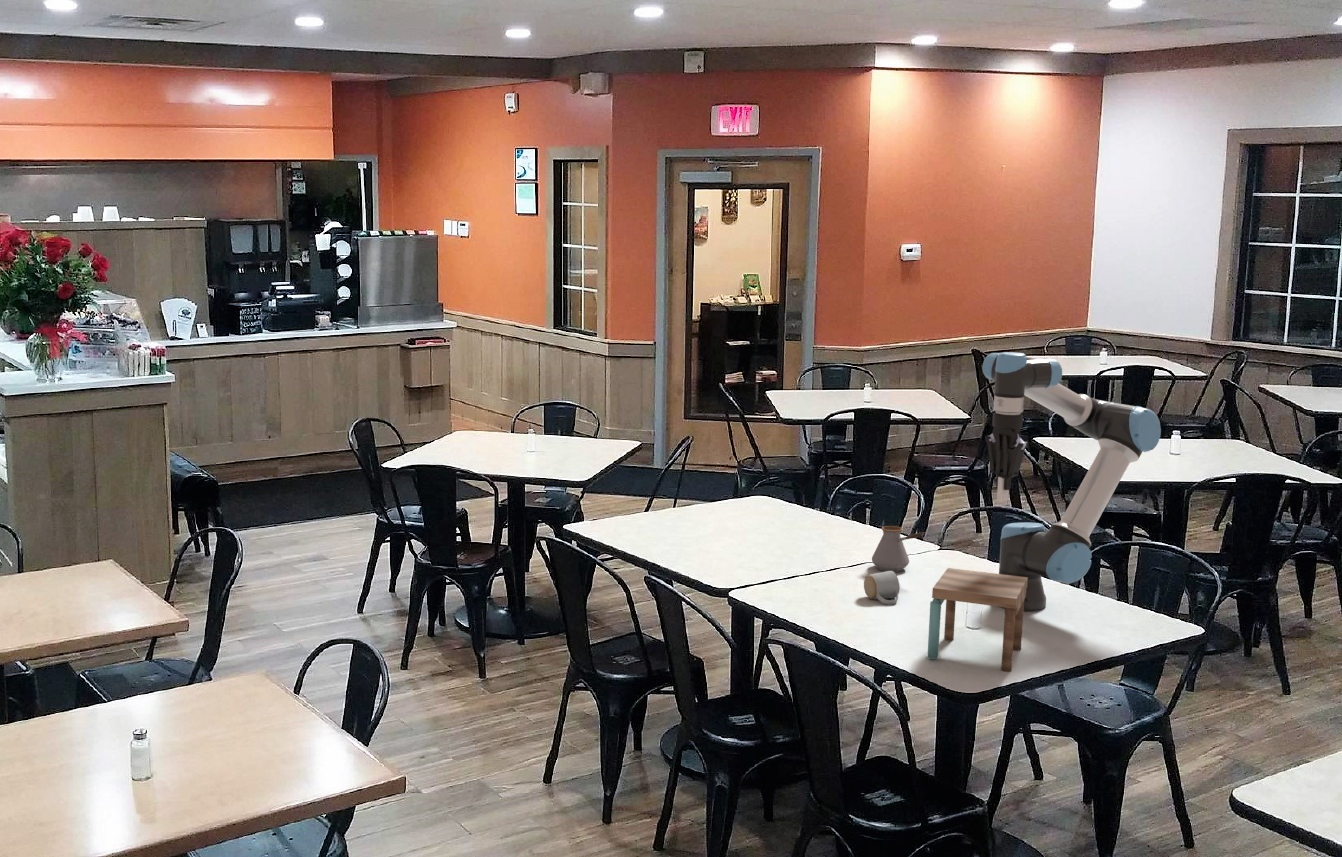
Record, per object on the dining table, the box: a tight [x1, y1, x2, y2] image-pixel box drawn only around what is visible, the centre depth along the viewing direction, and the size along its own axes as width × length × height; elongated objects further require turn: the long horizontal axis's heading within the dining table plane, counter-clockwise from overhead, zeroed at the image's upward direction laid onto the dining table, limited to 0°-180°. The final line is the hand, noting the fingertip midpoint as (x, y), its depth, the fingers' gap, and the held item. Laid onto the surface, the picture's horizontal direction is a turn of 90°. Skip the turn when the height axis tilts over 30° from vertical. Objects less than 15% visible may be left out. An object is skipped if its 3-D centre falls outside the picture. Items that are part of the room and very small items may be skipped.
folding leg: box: [927, 598, 945, 660], centre depth 325 cm, size 16×3×15 cm, turn 158°
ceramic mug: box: [863, 571, 901, 606], centre depth 368 cm, size 11×8×8 cm
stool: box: [931, 567, 1028, 673], centre depth 323 cm, size 20×20×18 cm
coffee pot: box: [871, 525, 929, 573], centre depth 395 cm, size 21×12×15 cm, turn 30°
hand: (1002, 501), depth 340 cm, fingers closed
